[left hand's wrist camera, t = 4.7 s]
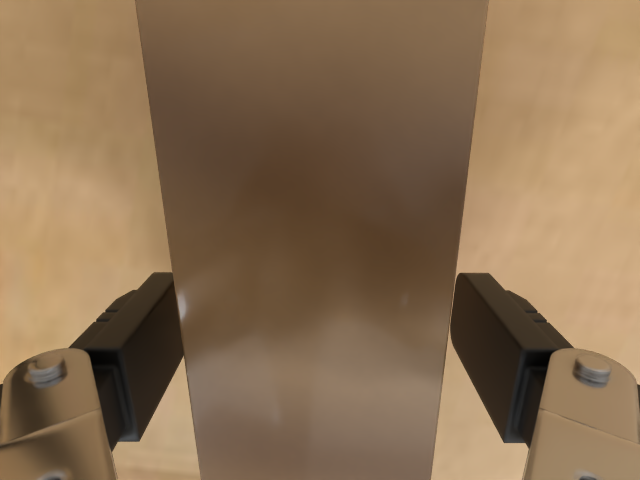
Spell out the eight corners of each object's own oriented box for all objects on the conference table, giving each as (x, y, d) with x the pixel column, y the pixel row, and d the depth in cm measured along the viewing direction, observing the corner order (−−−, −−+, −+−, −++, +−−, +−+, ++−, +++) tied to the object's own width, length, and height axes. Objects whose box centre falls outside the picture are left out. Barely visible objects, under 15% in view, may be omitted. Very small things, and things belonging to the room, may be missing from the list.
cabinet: (222, -225, 12) (0, -960, 4) (406, -226, 12) (607, -962, 4) (257, 329, 19) (206, 524, 10) (377, 329, 19) (426, 524, 10)
